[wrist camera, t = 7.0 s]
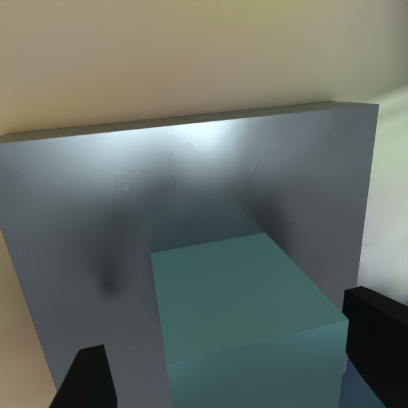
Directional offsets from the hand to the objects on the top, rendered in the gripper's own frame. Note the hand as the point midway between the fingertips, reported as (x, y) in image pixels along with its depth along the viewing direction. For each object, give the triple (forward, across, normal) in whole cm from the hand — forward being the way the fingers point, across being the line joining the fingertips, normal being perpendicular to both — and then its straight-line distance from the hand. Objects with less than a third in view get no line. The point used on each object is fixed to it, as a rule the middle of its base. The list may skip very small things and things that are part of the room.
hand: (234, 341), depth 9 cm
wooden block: (+2, 0, 0) cm, 2 cm away
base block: (+5, 0, 0) cm, 5 cm away
